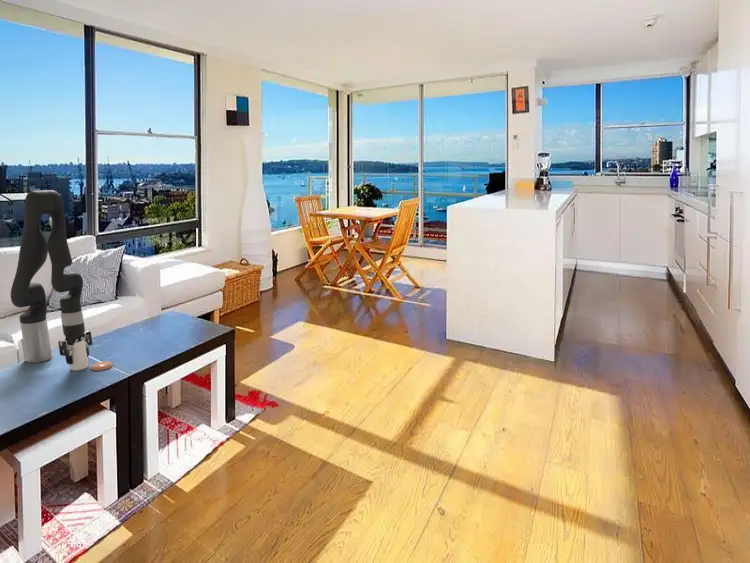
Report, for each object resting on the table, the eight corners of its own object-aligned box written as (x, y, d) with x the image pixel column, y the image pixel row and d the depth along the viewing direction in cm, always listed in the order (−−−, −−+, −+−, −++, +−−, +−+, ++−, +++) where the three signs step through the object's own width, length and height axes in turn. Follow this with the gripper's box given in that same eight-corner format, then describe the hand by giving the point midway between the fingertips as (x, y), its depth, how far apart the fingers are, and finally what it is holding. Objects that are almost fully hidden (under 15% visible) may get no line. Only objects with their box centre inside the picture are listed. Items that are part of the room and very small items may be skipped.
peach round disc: (86, 369, 203) (85, 367, 203) (101, 362, 211) (100, 360, 210) (102, 371, 201) (102, 369, 201) (117, 364, 209) (117, 362, 209)
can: (91, 365, 208) (88, 337, 205) (81, 371, 201) (77, 343, 199) (77, 364, 208) (73, 337, 205) (66, 370, 202) (62, 342, 199)
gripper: (79, 316, 208) (84, 353, 212) (50, 326, 194) (55, 366, 198) (94, 317, 206) (99, 354, 210) (65, 328, 193) (71, 367, 196)
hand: (78, 360), depth 204 cm, fingers open, 7 cm apart
